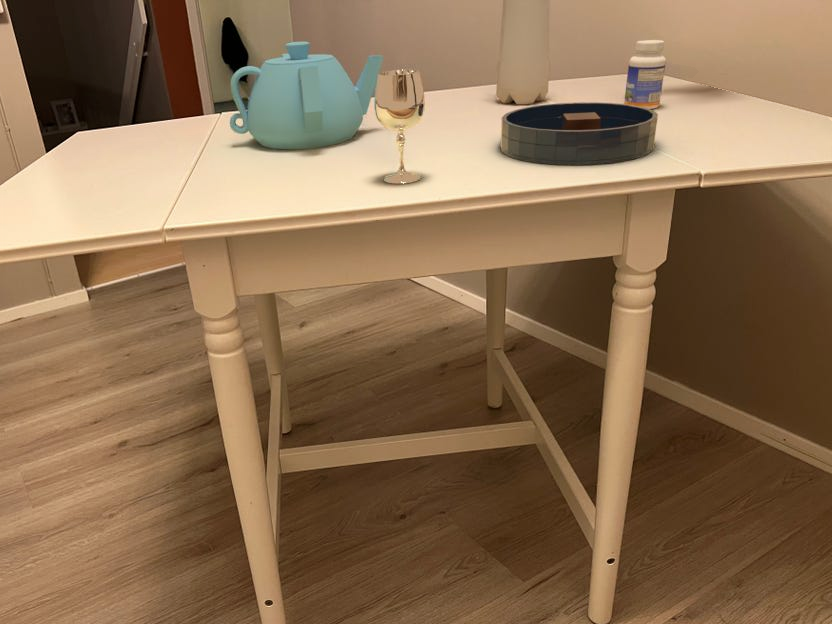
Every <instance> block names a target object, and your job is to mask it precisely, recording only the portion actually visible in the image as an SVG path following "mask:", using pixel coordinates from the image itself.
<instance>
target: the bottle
mask: <svg viewBox="0 0 832 624" xmlns="http://www.w3.org/2000/svg"><path fill="white" fill-rule="evenodd" d="M549 47H550V0H502V13H501V27H500V41H499V55H498V60H497V65H496V88H495V89H496V90H495V93H496V96H497V97H498V100H499V101H500V102H501V103H502V104H503V105H504V104H510V103H512V102H513V101H514V102H515V104H516V105H531V104H534V102H537V101H538V102H539V101H541V102H542V101H543V100H544V99H545V98H546V96H547V94H548V93H549V84H550V83H549V81H550V69H551V61H550V53H549V52H550V51H549V50H550V49H549Z"/></svg>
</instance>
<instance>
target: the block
mask: <svg viewBox="0 0 832 624" xmlns="http://www.w3.org/2000/svg"><path fill="white" fill-rule="evenodd" d="M600 121H601V118H600V117H599V116H598V115H597V114H596V113H595V112H592V113H570V114H563V122H562V130H598V129H600Z"/></svg>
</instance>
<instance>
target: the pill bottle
mask: <svg viewBox="0 0 832 624" xmlns="http://www.w3.org/2000/svg"><path fill="white" fill-rule="evenodd" d="M664 44H665V41H664V40H661V39H645V40H637V41H636V43H635V48H634V49H635V51H634V52H636V54H635V55H633V56H631V57H630V59H629V61H628V66H627V67H628V68H627V75H626V84H625V93H624V101H623V102H624V103H623V104H627V105H634V106H639V107H644V108H647V109H650V110H654V109H657V108H659V106H660V104H661V96H662V89H663V84H664V83H663V82H664V77H665V69H666V64H667V63H666V62H667V59H666V57H665V56H664V55H662V52H663V51H664V46H665V45H664Z"/></svg>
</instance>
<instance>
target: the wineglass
mask: <svg viewBox="0 0 832 624" xmlns="http://www.w3.org/2000/svg"><path fill="white" fill-rule="evenodd" d="M424 91H425V90H424V86H423V81H422V77H421V73H420V70H418V69H411V68H410V69H407V68H405V69H391V70H384V71H381V72H380V71H379V73H378V76H377V80H376V84H375V88H374V111H375V112H374V113H375V117H376V118H377V121H378V122H379V124H380V125H382V126H383V127H384V128H386V129H389V130H391V131H395V132H397V135H396V145H397V147H398V153H399V155H398V156H399V167H398V170H397V171H396V172H395V173H391V174H388V175H386V176H384V178H383V181H384V182H386V183H388V184H394V185H396V184H397V185H400V184H401V185H402V184H410V183H415V182H418V181H420V180H421V178H422V177H421V175H420V174H418V173H414V172H409V171H407V170H406V168H405V163H404V148H405V143H406V137H405V135H404V131H407V130H410V129H413V128H414V127H416V126H417V125H418V124H419V123H420V121H422V118H423V117H424V113H425V107H426V101H425V92H424Z"/></svg>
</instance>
